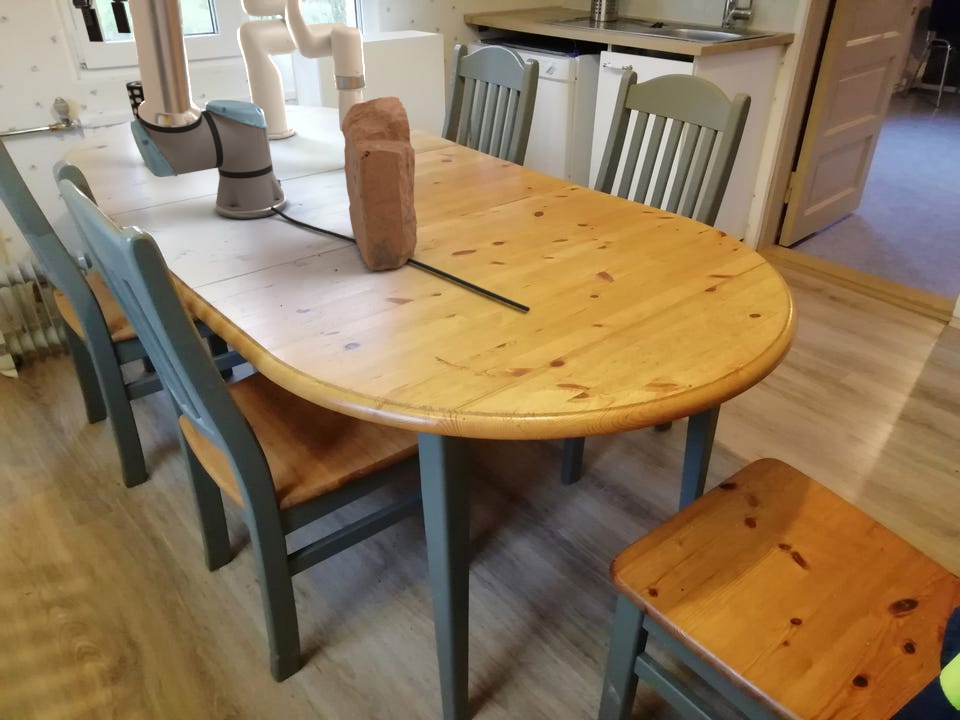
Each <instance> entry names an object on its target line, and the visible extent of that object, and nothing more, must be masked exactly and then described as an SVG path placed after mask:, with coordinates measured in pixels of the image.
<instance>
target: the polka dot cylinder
mask: <svg viewBox="0 0 960 720" xmlns="http://www.w3.org/2000/svg"><path fill="white" fill-rule="evenodd" d="M125 87H126V91H127V95H128V99H129V103H130V107H131V110H132V115H133V118H134V119H133V120H135V119H139V113H138V108H139V106H140V104H141V103H143V102H144V101H145V99H144V93H143V87H142V81H141V80H134V81H130V82H129V81H128V82H127V83H126V84H125Z"/></svg>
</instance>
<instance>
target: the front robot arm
mask: <svg viewBox="0 0 960 720" xmlns="http://www.w3.org/2000/svg"><path fill="white" fill-rule="evenodd" d="M71 1H72V5H73V7H74V8H75V9H76V10H80V11H81V15H82V18H83V23H84V26H85V28H86V34H87V36H88V40H89V42H90V43H104V37H103V34H102V29H101V26H100V22H99V18H98V15H97V11H96V8H93V2H94V0H71ZM125 2H126V3H128V8H129V15H130V20H131V26H132V27H130V23H129V17H128V15H127V10H126V6H125ZM110 6H111V9H112V14H113V17H114V21H115V25H116V29H117V33H118V34H131V33H132V32H133V39H134V44H135V51H136V55H137V57H136V58H137V62H138V69H139V74H140V81H142V87H143V93H144V99H145V101H144V102H143V103H141V104H140V106H139V108H138V113H139V119H133V120H131V121H130V130H131V134H132V136H133V139H134V142H135V144H136V147H137V149H138V151H139V153H140V156H141V158H142V160H143V162H144V164H145V165H146V167H147V169H148V170H149V172H150V173H151V174H152V175H154V176H155V177H157V178H166V177H178V176H180V175H185V174H190V173H196V172H201V171H209V170H212V169H218V170H217V172H218V185H217V193H216V200H215V206H216V210H217V213H218V214H219V215H221V216H223V217H225V218H229V219H236V220H253V219H260V218H261V219H262V218H265V217H266V218H267V217H270V216H274V215H276V214H277V215H279V216H280V217H281V218H283V219H285V220H287V222H291V223H293V224H295V225H297V226H300V227H302V228H306V229H309V230H312V231H315V232H319V233H322V234H324V235H325V234H326V235H328V236H332V237H336V238H339V239H341V240H344V241H348V242H350V243H354V244H357V242H356V239H355V238H353V237H350V236H347V235H344V234H340V233H338V232H334V231H331V230H327V229H324V228H321V227H317V226H314V225H311V224H308V223H304V222H302V221H299V220H297V219H294V218H292V217H290V216H288V215H286V214H285V213H284V212H283V210H285V209H286V207H287V199H286V194H285V193H284V191H283V189H282V184H281V180H280V179H277V177H276V175H275V172H274V167H273V160H272V154H271V147H270V140H269V139H268V132H267V129H268V127H267V125H266V121H265V117H264V112H263V110H262V109H261V108H260V107H259V106H258V105H255V104H253V103H252V102H249V101H243V100H232V99H214V100H213V99H212V100H208V101H206V102H205V106H204V109H205V110H202V109H201V108H200V105H198V104H197V103H195V102H194V101H193V99H192V90H191V80H190V74H189V73H190V71H189V64H188V54H187V48H186V47H187V45H186V37H185V28H184V20H183V13H182V11H183V10H182V4H181V0H112V1H111V2H110ZM131 28H132V31H131ZM407 262H408V263H410V264H411V265H412V264H413V265H415V266H418V267H420V268H422V269H425V270H427V271H429V272H432V273H435V274H438V275H439V276H441V277H444V278H447V279H449V280H450V281H452V282H453V281H454V282H456V283H458V284H460V285H463V286H465V287H466V288H470V289H472V290H474V291H476V292H479V293H481V294H483V295H487V296H488V297H491V298H493V299H496V300H498V301H500V302H503V303H505V304H508V305H510V306H511V307H515V308H518V309H519V310H523V311H524V312H527V313H528V312H530V310H531V308H530V307H529V306H526V305H524V304H521V303H519V302H517V301H515V300H512V299H509V298H507V297H504V296H502V295H500V294H497V293H495V292H492V291H490V290H487V289H485V288H483V287H480V286H478V285H475V284H473V283H471V282H468V281H466V280H465V279H461V278H459V277H458V276H455V275H452V274H450V273H447V272H445V271H443V270H441V269H437V268H435V267H433V266H431V265H429V264H425V263H423V262H420V261H418V260H415V259H413V258H412V259H410V258H408V260H407ZM407 262H406V263H407Z"/></svg>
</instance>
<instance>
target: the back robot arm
mask: <svg viewBox="0 0 960 720" xmlns="http://www.w3.org/2000/svg"><path fill="white" fill-rule="evenodd" d="M304 1H305V0H240V3H241V7H242V10H243V11H244V12H245V13H246V15H248V16H250V17H256V18H257V17H260V18H261V17H272V16H273V17H275V16H277V18H265V19H255V20H248V21H245V22H242V24H240V25H239V27H238V29H237V33H236V36H237V42H238V45H239V48H240V51H241V54H242V57H243V60H244V61H243V62H244V65H245V70H246V76H247V82H248V89H249V93H250V100H251V103H253V104H255V105H258V106H259V107H260V108H261V109H262V110H263V112H264V117H265V121H266V125H267V127H268V129H267V132H268V139H269V141H270V140H281V139H286V138H290V137H292V136H293V135H294V134H295V129H294V128H293V127H291V126H289V124H288V116H287V109H286V100H285V93H284V87H283V79H282V74H281V70H280V68H279V67H278V66H277V64H276V63H275V62H274V61H273V60H272V58H271V57H275V56H282V55H289V54H294V53H295V52H297V51H298V52H299V54H300V55H301V56H303V57H304V58H305V59H310V60H312V59H320V58H328V57H329V58H330V57H331V59H332V68H333V78H334V79H333V80H334V88H335V91H338V95H337V96H338V97H337V98H338V99H337V100H338V102H337V103H338V104H337V105H338V123H339V124H338V125H339V131H340V132H342V124H343V121H344V118H345V116H346V114H347V112H348V111H349V109H350V108H351V107H352V106H353V105H354V104H357V103H364V99H363V98H364V97H363V90H366V88H367V87H366V76H365V61H364V60H365V59H364V48H363V47H364V46H363V35H362V31H361V30H360V29H359V28H357V27H353V26H348V25H346V24H344V23H342V22H328V23H325V22H324V23H323V22H322V23H314V24H313V23H312V24H307V22H306V20H305V17H304V15H303V13H302V10H301V3H302V2H304Z"/></svg>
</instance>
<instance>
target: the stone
mask: <svg viewBox="0 0 960 720" xmlns="http://www.w3.org/2000/svg"><path fill="white" fill-rule="evenodd" d="M403 105H404V104H403V102H401V101H400V98H399V97H398V96H397V97H396V96H385V97H384V96H383V97H377V98H374V99H369V100H367V101H365V102H363V103H357V104H354V105H353V106H352V107H351V108H350V109H349V111H348V112H347V114H346V116H345V118H344V121H343V124H342V131H341V132H342V135H343V137H344V150H343V151H344V152H343V153H344V173H345V182H346V192H347V196H348V200H349V206H348V212H349V220H350V225H351V230H352V234H353V237H354V239H356V242H357V243H356V245H357V247H358V249H359V251H360V255H361V258H362V260H363V261H364V263H365V264H366V266H367V268H368V269H369V270H370V271H384V270H385V269H386V270H387V269H398V268H400V267H403V266H404V265H405V264H406V263H407V260H408V258H410V259H413V258H414V257H415V250H416V246H417V243H418V236H417V233H418V232H417V231H418V229H417V227H418V226H417V224H418V222H417V216H416V215H417V214H416V213H417V212H416V208H415V173H416V172H415V171H416V169H415V167H416V166H415V163H416V155H415V148H414V147H413V146H412V143H411V129H410V123H409V118H408V114H407V110H406V108H405V107H404V106H403Z"/></svg>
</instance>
